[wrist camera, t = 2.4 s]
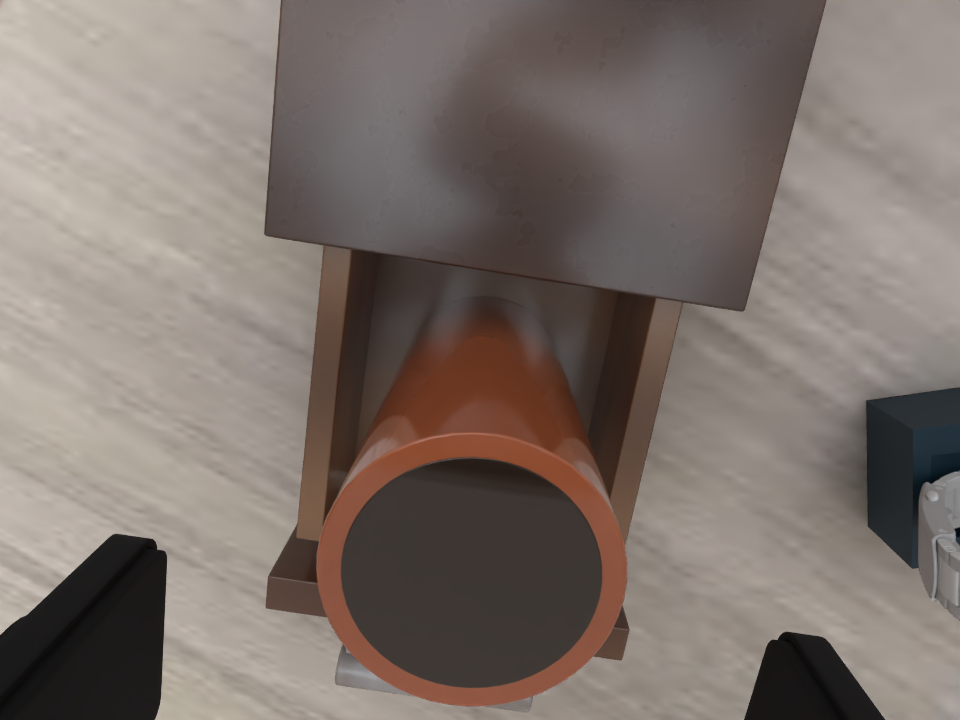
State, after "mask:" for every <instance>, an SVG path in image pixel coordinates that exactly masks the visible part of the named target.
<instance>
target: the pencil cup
mask: <svg viewBox="0 0 960 720" xmlns="http://www.w3.org/2000/svg"><path fill="white" fill-rule="evenodd" d="M316 573H317V581H318V589H319V593H320V597H321V601H322V604H323V608H324V610H325V613H326V615H327V617H328V620H329V622H330V624H331V626H332V628H333V629H334V631H335V633H336V634H337V636H338V638H339V639H340V641H341V642H342V643H343V644H344V646H345V647H346V648H347V649H348V651H349V652H350V653H351V654H352V655H353V656H354V657H355V658H356V659H357V660H358V661H359V662H360V663H361V664H362V665H363V666H364V667H365V668H366V669H368V670H369V671H370V672H372V673H373V674H374V675H376V676H377V677H378V678H380V679H381V680H383V681H385V682H387V683H388V684H390V685H392V686H393V687H395V688H397V689H399V690H402V691H404V692H406V693H408V694H411V695H413V696H416V697H419V698H423V699H426V700H429V701H433V702H438V703H443V704H448V705H457V706H492V705H500V704H507V703H511V702H515V701H519V700H523V699H526V698H529V697H532V696H534V695H537V694H540V693H543V692H544V691H546V690H548V689H550V688H552V687H554V686H556V685H558V684H560V683H561V682H563V681H564V680H566V679H567V678H569V677H570V676H572V675H573V674H575V673H576V672H577V671H578V670H579V669H581V668H582V667H583V666H584V665H585V664H586V663H587V662H589V660H590V659H591V658H592V657H593V656H594V655H595V654H596V653H597V651H598V650H599V649H600V648H601V646H602V645H603V643H604V642H605V641H606V639H607V638H608V636H609V635H610V633H611V631H612V629H613V627H614V625H615V623H616V621H617V619H618V617H619V613H620V610H621V607H622V604H623V601H624V597H625V591H626V585H627V557H626V550H625V544H624V541H623V537H622V534H621V530H620V527H619V524H618V521H617V518H616V515H615V513H614V510H613V507H612V504H611V501H610V498H609V495H608V493H607V490H606V487H605V484H604V481H603V478H602V475H601V473H600V470H599V467H598V464H597V461H596V458H595V455H594V452H593V450H592V447H591V444H590V441H589V438H588V435H587V432H586V430H585V427H584V424H583V421H582V418H581V415H580V412H579V410H578V407H577V404H576V401H575V398H574V395H573V392H572V389H571V387H570V384H569V381H568V378H567V375H566V372H565V369H564V367H563V364H562V361H561V358H560V355H559V352H558V349H557V347H556V344H555V342H554V340H553V338H552V336H551V334H550V333H549V331H548V329H547V328H546V327H545V326H544V324H543V323H542V322H541V321H540V320H539V319H538V318H537V317H536V316H535V315H534V314H533V313H531V312H530V311H528V310H527V309H526V308H524V307H522V306H520V305H518V304H516V303H514V302H511V301H509V300H506V299H502V298H497V297H489V296H474V297H468V298H463V299H460V300H456V301H453V302H451V303H449V304H447V305H445V306H443V307H441V308H440V309H438V310H437V311H435V312H434V313H433V314H432V315H430V316H429V317H428V318H427V319H426V320H425V321H424V322H423V323H422V325H421V326H420V327H419V329H418V330H417V332H416V333H415V335H414V337H413V339H412V341H411V343H410V345H409V347H408V349H407V351H406V353H405V355H404V357H403V359H402V361H401V364H400V366H399V368H398V370H397V372H396V374H395V376H394V378H393V380H392V382H391V384H390V386H389V389H388V391H387V393H386V395H385V397H384V399H383V401H382V403H381V405H380V407H379V409H378V411H377V413H376V416H375V418H374V420H373V422H372V424H371V426H370V428H369V430H368V432H367V434H366V436H365V438H364V440H363V443H362V445H361V447H360V449H359V451H358V453H357V455H356V457H355V459H354V461H353V463H352V465H351V468H350V470H349V472H348V474H347V476H346V478H345V480H344V482H343V484H342V486H341V488H340V490H339V492H338V495H337V497H336V499H335V501H334V503H333V505H332V507H331V509H330V511H329V513H328V515H327V517H326V520H325V523H324V526H323V529H322V532H321V535H320V539H319V545H318V550H317V567H316Z"/></svg>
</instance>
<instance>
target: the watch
mask: <svg viewBox="0 0 960 720" xmlns="http://www.w3.org/2000/svg"><path fill="white" fill-rule="evenodd" d="M867 471H868V527H869V528H870V529H871V530H872V531H873V532H875V533H876V534H877V535H878V536H879V537H880V538H881V539H882V540H883V541H884V542H885V543H886V544H887V545H888V546H889V547H890V548H891V549H892V550H893V551H894V552H895V553H896V554H897V555H898V556H900V557H901V558H902V559H903V560H904V561H905V562H906V563H907V564H908V565H909V566H910V567H911V568H912V569H914V568H919V571H920V575H921V578H922V581H923V583H924V586H925V588H926V590H927V593H928V595H929V597H930V598H931V600H933V601H937V600H939V602H940V603H941V604H942V606H943V607H944V608H945V609H948V611H949V612H950V613H951V614H952V615H953V616H954V617H955V618H956V619H958V620H959V621H960V388H953V389H946V390H939V391H932V392H925V393H918V394H910V395H903V396H896V397H889V398H882V399H875V400H867Z"/></svg>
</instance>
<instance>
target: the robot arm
mask: <svg viewBox="0 0 960 720" xmlns="http://www.w3.org/2000/svg"><path fill="white" fill-rule="evenodd" d="M166 572H167V555H166V552H165V551H162V550H157V545H156V542H155V541H154V540H153V539H149V538H142V537H135V536H128V535H121V534H114V535H112V536H111V537H109V538H108V539H107V540H106V541H105V542H104V543H103V544H102V545H101V546H100V547H99V548H98V549H96V550H95V551H94V552H93V553H92V554H91V555H90V556H89V557H88V558H87V559H86V560H85V561H84V562H83V563H82V564H81V565H80V566H78V567H77V568H76V569H75V570H74V571H73V572H72V573H71V574H70V575H69V576H68V577H67V578H66V579H65V580H64V581H63V582H62V583H61V584H59V585H58V586H57V587H56V588H55V589H54V590H53V591H52V592H51V593H50V594H49V595H48V596H47V597H46V598H45V599H44V600H43V601H42V602H40V603H39V604H38V605H37V606H36V607H35V608H34V609H33V610H32V611H31V612H30V613H29V614H28V615H27V616H25V617H21V618H20V619H18V620H17V621H16V622H14V623H13V624H12V625H11V626H9V627H8V628H7V629H6V630H5V631H4V632H3V633H2V634H1V635H0V720H155V718H156V715H157V712H158V709H159V705H160V700H161V684H162V661H163V639H164V617H165V594H166ZM744 720H885V719H884V717H883V716H882V715H881V713H880V712H879V711H878V709H877V708H876V706H875V705H874V704H873V702H872V701H871V700H870V698H869V697H868V695H867V694H866V693H865V691H864V690H863V689H862V687H861V686H860V685H859V683H858V682H857V680H856V679H855V678H854V676H853V675H852V674H851V672H850V671H849V669H848V668H847V667H846V665H845V664H844V663H843V661H842V660H841V658H840V657H839V656H838V654H837V653H836V652H835V650H834V649H833V647H832V646H831V645H830V643H829V642H828V641H827V640H826V639H825V638H823V637H819V636H812V635H806V634H799V633H792V632H784V633H782V634H781V635H780V637H779V638H778V640H771V641H770V642H769V643H768V645H767V647H766V650H765V654H764V657H763V660H762V663H761V667H760V670H759V673H758V676H757V680H756V683H755V686H754V690H753V693H752V696H751V699H750V703H749V706H748V709H747V712H746V716H745V719H744Z"/></svg>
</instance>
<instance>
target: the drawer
mask: <svg viewBox="0 0 960 720" xmlns="http://www.w3.org/2000/svg"><path fill="white" fill-rule="evenodd" d="M474 296H489V297H497V298H502V299H506V300H509V301H511V302H514V303H516V304H518V305H520V306H522V307H524V308H526V309H527V310H528V311H530V312H531V313H533V314H534V315H535V316H536V317H537V318H538V319H539V320H540V321H541V322H542V323H543V324H544V326H545V327H546V328H547V329H548V331H549V333H550V334H551V336H552V338H553V340H554V342H555V344H556V347H557V349H558V352H559V355H560V358H561V361H562V364H563V367H564V369H565V372H566V375H567V378H568V381H569V384H570V387H571V389H572V392H573V395H574V398H575V401H576V404H577V407H578V410H579V412H580V415H581V418H582V421H583V424H584V427H585V430H586V432H587V435H588V438H589V441H590V444H591V447H592V450H593V452H594V455H595V458H596V461H597V464H598V467H599V470H600V473H601V475H602V478H603V481H604V484H605V487H606V490H607V493H608V495H609V498H610V501H611V504H612V507H613V510H614V513H615V515H616V518H617V521H618V524H619V527H620V530H621V534H622V537H623V541H624V544H626V540H627V535H628V531H629V527H630V523H631V519H632V514H633V510H634V506H635V502H636V498H637V493H638V489H639V485H640V481H641V477H642V472H643V468H644V464H645V460H646V456H647V451H648V447H649V443H650V439H651V435H652V431H653V426H654V422H655V418H656V414H657V410H658V405H659V401H660V397H661V393H662V389H663V384H664V380H665V376H666V372H667V368H668V363H669V359H670V355H671V351H672V347H673V342H674V338H675V334H676V330H677V326H678V322H679V317H680V313H681V309H682V305H683V302H678V301H671V300H665V299H659V298H652V297H646V296H640V295H634V294H627V293H621V292H615V291H608V290H602V289H596V288H590V287H583V286H577V285H571V284H564V283H558V282H552V281H545V280H539V279H533V278H527V277H520V276H514V275H508V274H501V273H495V272H489V271H482V270H476V269H470V268H464V267H457V266H451V265H445V264H438V263H432V262H426V261H420V260H413V259H407V258H401V257H394V256H388V255H382V254H375V253H369V252H363V251H357V250H350V249H344V248H338V247H331V246H325V245H324V249H323V259H322V270H321V281H320V291H319V302H318V312H317V323H316V333H315V344H314V354H313V365H312V375H311V386H310V397H309V407H308V418H307V428H306V439H305V449H304V460H303V470H302V481H301V491H300V502H299V513H298V523H297V525H296V527H295V529H294V531H293V533H292V534H291V536H290V538H289V540H288V542H287V543H286V545H285V547H284V549H283V551H282V552H281V554H280V556H279V558H278V560H277V561H276V563H275V565H274V567H273V569H272V570H271V572H270V574H269V576H268V585H267V597H266V608H267V609H274V610H281V611H287V612H294V613H301V614H308V615H315V616H321V617H327V615H326V613H325V610H324V608H323V604H322V601H321V597H320V593H319V589H318V581H317V573H316V567H317V550H318V545H319V539H320V535H321V532H322V529H323V526H324V523H325V520H326V517H327V515H328V513H329V511H330V509H331V507H332V505H333V503H334V501H335V499H336V497H337V495H338V492H339V490H340V488H341V486H342V484H343V482H344V480H345V478H346V476H347V474H348V472H349V470H350V468H351V465H352V463H353V461H354V459H355V457H356V455H357V453H358V451H359V449H360V447H361V445H362V443H363V440H364V438H365V436H366V434H367V432H368V430H369V428H370V426H371V424H372V422H373V420H374V418H375V416H376V413H377V411H378V409H379V407H380V405H381V403H382V401H383V399H384V397H385V395H386V393H387V391H388V389H389V386H390V384H391V382H392V380H393V378H394V376H395V374H396V372H397V370H398V368H399V366H400V364H401V361H402V359H403V357H404V355H405V353H406V351H407V349H408V347H409V345H410V343H411V341H412V339H413V337H414V335H415V333H416V332H417V330H418V329H419V327H420V326H421V325H422V323H423V322H424V321H425V320H426V319H427V318H428V317H429V316H430V315H432V314H433V313H434V312H435V311H437V310H438V309H440V308H441V307H443V306H445V305H447V304H449V303H451V302H453V301H456V300H460V299H463V298H468V297H474ZM628 634H629V626H628V622H627V619H626V616H625V612H624V609H623V605H622V607H621V610H620V613H619V617H618V619H617V621H616V623H615V625H614V627H613V629H612V631H611V633H610V635H609V636H608V638H607V639H606V641H605V642H604V643H603V645H602V646H601V648H600V649H599V650H598V651H597V653H596V654H595V655H594V657H601V658H607V659H614V660H622V658H623V654H624V650H625V646H626V642H627V638H628ZM335 684H336V685H339V686H346V687H353V688H360V689H367V690H374V691H381V692H388V693H394V694H401V695H408V696H413V695H411V694H408V693H406V692H404V691H402V690H399V689H397V688H395V687H393V686H392V685H390V684H388V683H387V682H385V681H383V680H381V679H380V678H378V677H377V676H376V675H374V674H373V673H372V672H370V671H369V670H368V669H366V668H365V667H364V666H363V665H362V664H361V663H360V662H359V661H358V660H357V659H356V658H355V657H354V656H353V655H352V654H351V653H350V652H349V651H348V649H347V648H346V647H345V646H344V644H343V646H342V648H341V651H340V654H339V658H338V663H337V668H336V675H335ZM415 697H416V696H415ZM532 697H533V696H532ZM532 697H529V698H526V699H523V700H519V701H515V702H511V703H507V704H500V705H492V706H484V707H491V708H498V709H505V710H512V711H519V712H529V710H530V707H531V703H532Z"/></svg>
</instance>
